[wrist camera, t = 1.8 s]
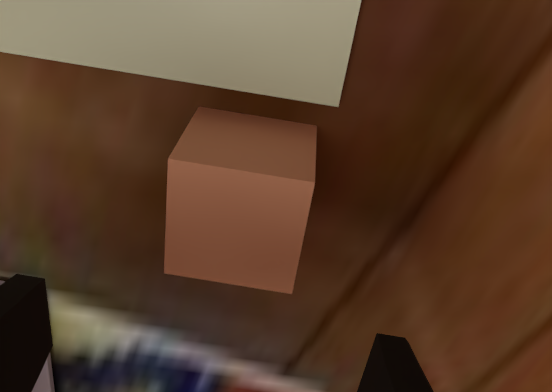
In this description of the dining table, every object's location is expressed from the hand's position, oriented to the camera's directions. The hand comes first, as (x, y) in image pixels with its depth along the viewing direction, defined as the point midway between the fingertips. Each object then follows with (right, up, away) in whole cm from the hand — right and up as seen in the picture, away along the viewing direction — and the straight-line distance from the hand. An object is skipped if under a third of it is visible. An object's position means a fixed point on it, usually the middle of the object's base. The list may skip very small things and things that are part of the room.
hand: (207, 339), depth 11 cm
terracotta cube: (+1, +4, +7) cm, 8 cm away
